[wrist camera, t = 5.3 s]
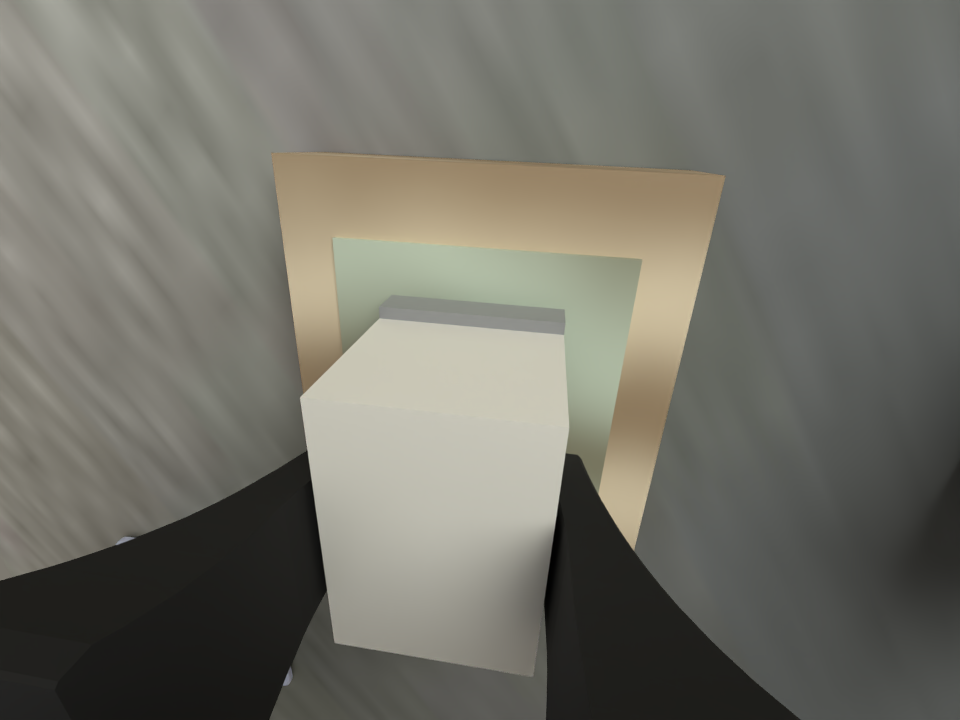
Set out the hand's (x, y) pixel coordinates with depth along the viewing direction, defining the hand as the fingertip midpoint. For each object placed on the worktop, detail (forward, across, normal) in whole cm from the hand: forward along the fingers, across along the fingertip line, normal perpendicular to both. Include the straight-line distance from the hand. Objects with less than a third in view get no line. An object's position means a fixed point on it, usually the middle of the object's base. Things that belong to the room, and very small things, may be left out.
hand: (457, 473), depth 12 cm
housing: (+2, 0, 0) cm, 2 cm away
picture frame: (+6, 0, 0) cm, 6 cm away
